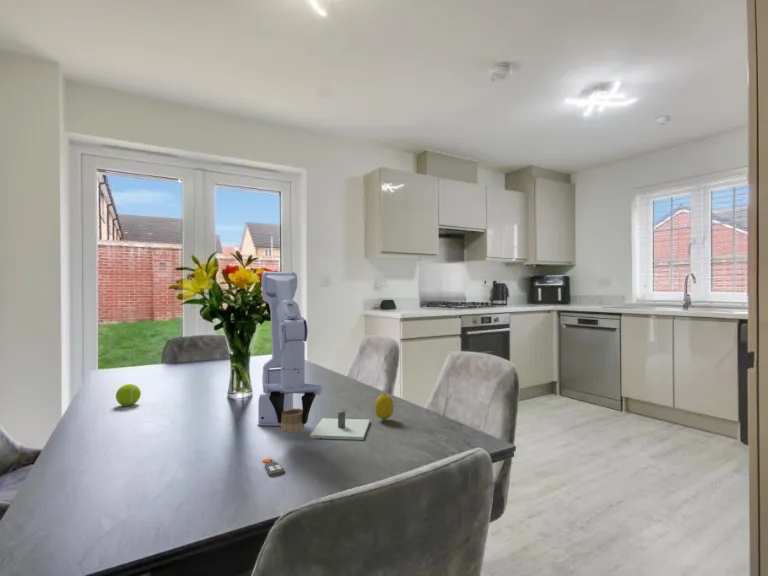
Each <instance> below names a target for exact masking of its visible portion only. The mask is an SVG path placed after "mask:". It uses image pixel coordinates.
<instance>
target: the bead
mask: <svg viewBox="0 0 768 576" xmlns="http://www.w3.org/2000/svg"><path fill="white" fill-rule="evenodd" d="M302 417H303V408H302V409H301V408H293V409H287V410H284V411H282V412H281V426H280V430H281V431H283V432H286V433H295V432H299V431H302V430H304V429H305V428H306V427H305V426H306V424H303V422H302Z"/></svg>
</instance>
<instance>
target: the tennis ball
mask: <svg viewBox="0 0 768 576" xmlns="http://www.w3.org/2000/svg"><path fill="white" fill-rule="evenodd" d="M141 392H142V391H141V389H140V388H139V386H137V385H136V384H131V383H127V384H124V385H122V386H120V387H119V388H118V390H117V391H116V394H115V399H116V402H117V403H118V404H119V405H120V406H123V407H130V406H132V405H134V404H136V403H137V402H138V401H139V399H140V398H141V394H142V393H141Z"/></svg>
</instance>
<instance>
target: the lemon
mask: <svg viewBox="0 0 768 576" xmlns="http://www.w3.org/2000/svg"><path fill="white" fill-rule="evenodd" d="M374 412H375V414H376V416H377V417H378V418H379V419H381V420H382V421H386V420H387V419H389V418H390V417H391V416H392V415H393V413H394V403H393V399H392V398H391V396H390V395H388V394H386V393H382V394H380V395H379V396H378V397H377V398H376V399H375V402H374Z"/></svg>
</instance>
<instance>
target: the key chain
mask: <svg viewBox="0 0 768 576" xmlns="http://www.w3.org/2000/svg"><path fill="white" fill-rule="evenodd" d="M261 462H262V463H265V464H264V470H265V469H266V470H265V471H267V472H266V473H267V475H268V477H276V476H280V475H284V474H285V473H286V470H285V468H284V467H283V466H282V465H281V464H280V463H279V462H277V461H275V460H274V458H271V457H270V458H267V457H266V458H264V459H263V460H261ZM266 462H267V463H266Z"/></svg>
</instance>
